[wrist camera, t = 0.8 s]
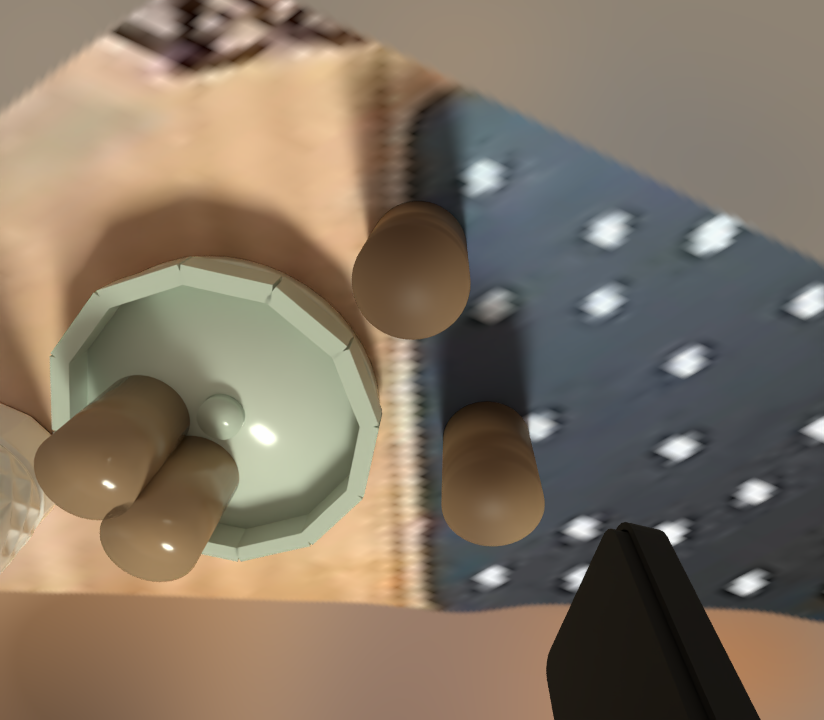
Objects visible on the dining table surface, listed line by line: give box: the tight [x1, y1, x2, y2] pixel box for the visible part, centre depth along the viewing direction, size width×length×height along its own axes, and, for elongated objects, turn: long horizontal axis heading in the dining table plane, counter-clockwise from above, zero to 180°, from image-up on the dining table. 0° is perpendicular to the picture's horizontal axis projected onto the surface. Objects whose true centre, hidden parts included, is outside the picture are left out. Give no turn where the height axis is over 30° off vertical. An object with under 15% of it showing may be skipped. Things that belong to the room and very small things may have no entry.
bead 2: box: [442, 402, 545, 546], centre depth 26 cm, size 4×4×5 cm
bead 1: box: [352, 201, 470, 340], centre depth 23 cm, size 4×4×5 cm
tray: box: [34, 256, 382, 582], centre depth 26 cm, size 14×14×6 cm
